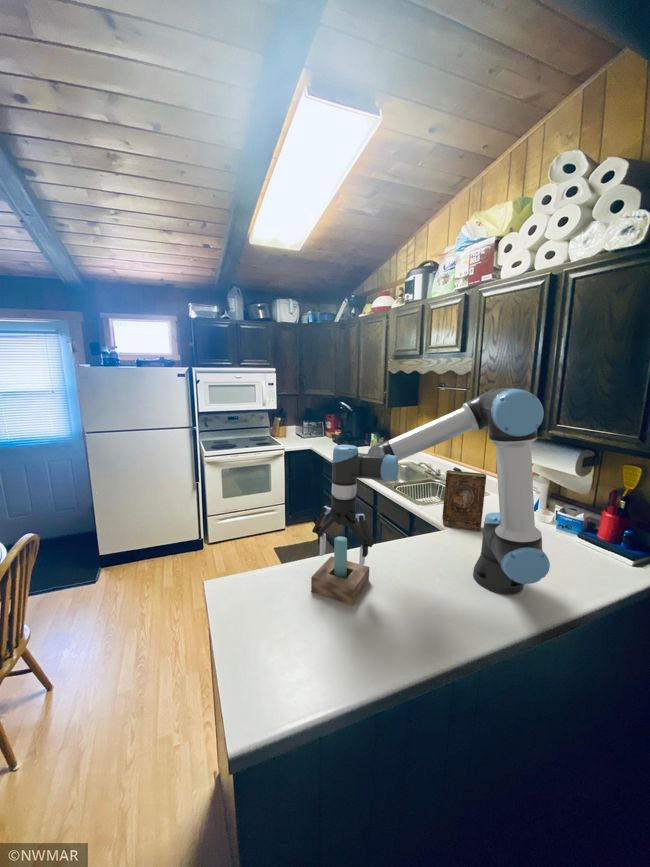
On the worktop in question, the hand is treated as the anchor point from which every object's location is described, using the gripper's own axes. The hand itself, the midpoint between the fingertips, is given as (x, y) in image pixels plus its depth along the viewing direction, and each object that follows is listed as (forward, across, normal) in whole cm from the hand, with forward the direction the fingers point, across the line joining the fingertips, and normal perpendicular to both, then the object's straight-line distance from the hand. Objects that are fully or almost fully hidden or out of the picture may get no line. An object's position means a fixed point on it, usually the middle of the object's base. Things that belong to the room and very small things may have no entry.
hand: (341, 559), depth 109 cm
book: (+9, -30, -67) cm, 74 cm away
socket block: (+9, 0, 0) cm, 9 cm away
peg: (+9, 0, 0) cm, 9 cm away
